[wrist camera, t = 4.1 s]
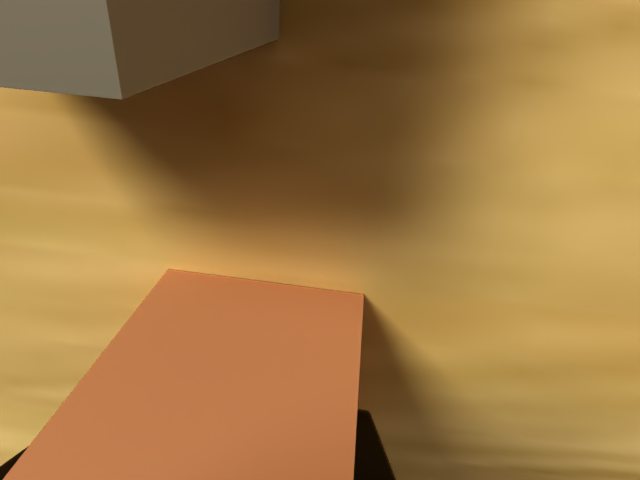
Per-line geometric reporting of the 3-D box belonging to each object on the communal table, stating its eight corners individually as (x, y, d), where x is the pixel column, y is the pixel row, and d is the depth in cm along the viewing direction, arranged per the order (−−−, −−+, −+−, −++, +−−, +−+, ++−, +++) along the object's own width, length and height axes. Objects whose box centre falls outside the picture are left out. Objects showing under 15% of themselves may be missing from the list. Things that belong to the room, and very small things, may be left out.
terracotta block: (186, 400, 12) (37, 707, 7) (168, 269, 10) (-78, 580, 4) (344, 424, 12) (315, 767, 6) (364, 294, 9) (343, 662, 4)
